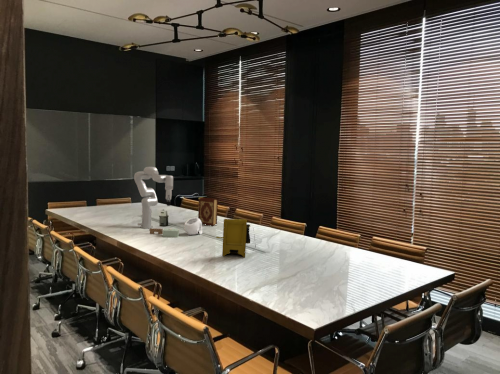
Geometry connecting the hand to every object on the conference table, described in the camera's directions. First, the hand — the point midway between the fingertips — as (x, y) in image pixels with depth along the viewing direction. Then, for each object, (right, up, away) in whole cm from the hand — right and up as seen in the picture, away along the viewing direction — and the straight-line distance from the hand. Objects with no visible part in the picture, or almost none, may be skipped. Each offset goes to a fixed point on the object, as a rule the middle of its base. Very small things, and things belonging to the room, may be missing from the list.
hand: (168, 205), depth 384 cm
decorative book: (+32, -25, +55) cm, 68 cm away
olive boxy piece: (+69, -37, -75) cm, 109 cm away
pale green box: (+5, -29, -15) cm, 33 cm away
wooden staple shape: (-10, -28, -10) cm, 31 cm away
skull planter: (+25, -29, -2) cm, 39 cm away
